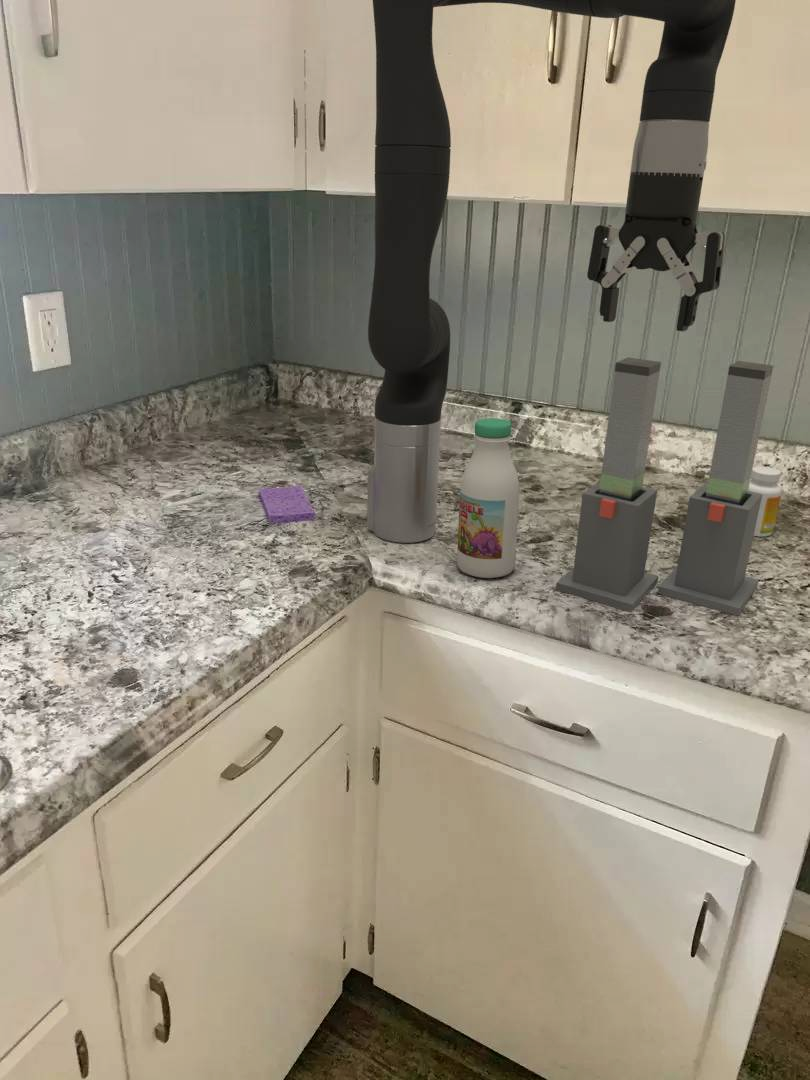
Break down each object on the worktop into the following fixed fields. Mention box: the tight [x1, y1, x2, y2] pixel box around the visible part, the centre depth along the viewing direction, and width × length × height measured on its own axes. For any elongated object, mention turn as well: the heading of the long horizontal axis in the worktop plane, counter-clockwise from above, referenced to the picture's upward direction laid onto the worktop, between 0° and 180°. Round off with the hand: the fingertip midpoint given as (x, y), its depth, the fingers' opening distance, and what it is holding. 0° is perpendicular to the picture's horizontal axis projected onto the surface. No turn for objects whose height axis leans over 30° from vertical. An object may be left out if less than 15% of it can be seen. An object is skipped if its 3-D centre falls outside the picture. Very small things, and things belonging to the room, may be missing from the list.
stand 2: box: [657, 481, 762, 616], centre depth 106 cm, size 10×10×13 cm
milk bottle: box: [456, 417, 520, 579], centre depth 109 cm, size 8×8×20 cm
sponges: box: [258, 485, 316, 525], centre depth 131 cm, size 7×13×2 cm, turn 16°
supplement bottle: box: [748, 465, 783, 538], centre depth 126 cm, size 5×5×10 cm
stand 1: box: [555, 481, 660, 613], centre depth 106 cm, size 10×10×13 cm
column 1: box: [599, 357, 662, 502], centre depth 101 cm, size 4×4×22 cm
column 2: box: [705, 360, 774, 506], centre depth 101 cm, size 4×4×22 cm
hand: (644, 325), depth 95 cm, fingers open, 8 cm apart
